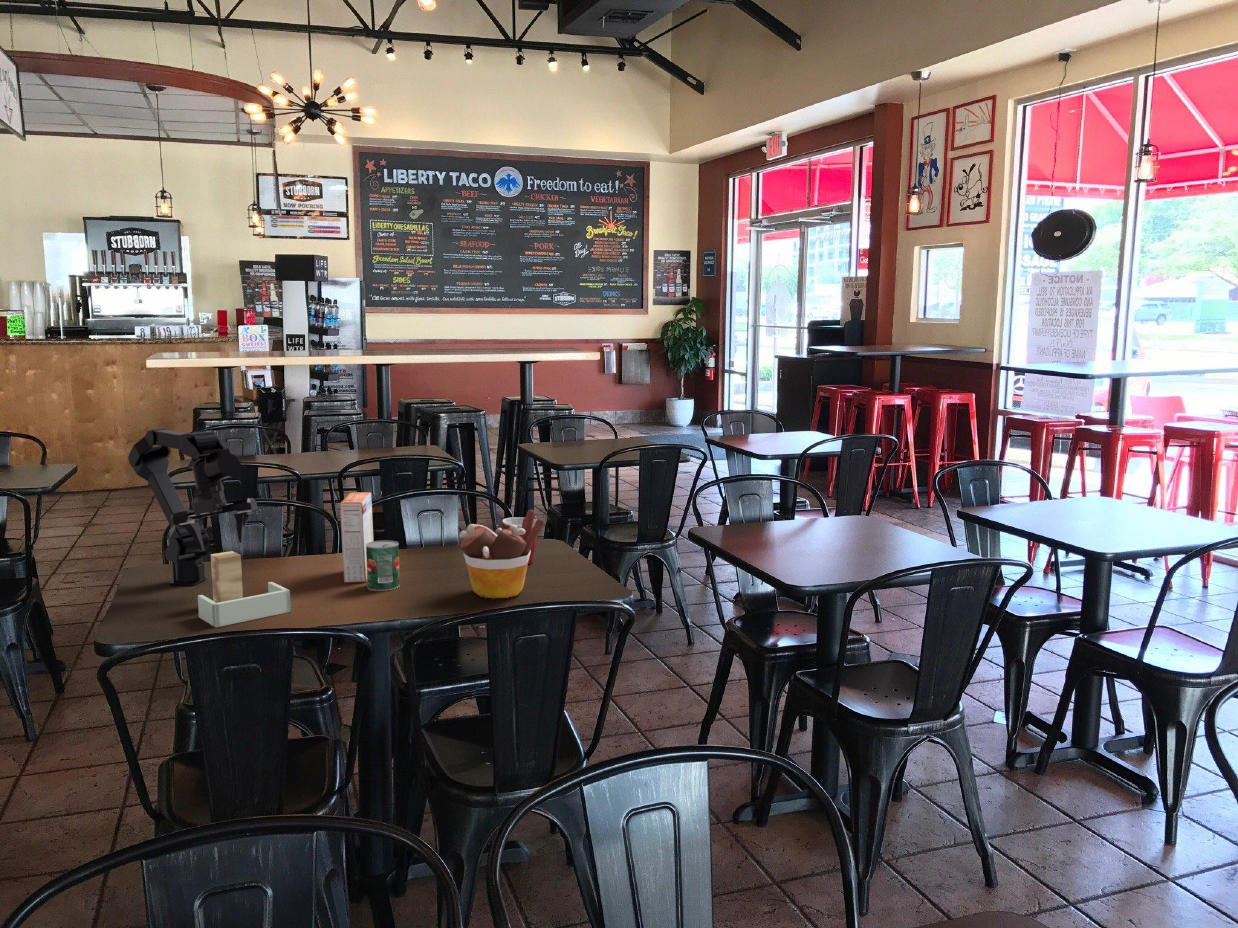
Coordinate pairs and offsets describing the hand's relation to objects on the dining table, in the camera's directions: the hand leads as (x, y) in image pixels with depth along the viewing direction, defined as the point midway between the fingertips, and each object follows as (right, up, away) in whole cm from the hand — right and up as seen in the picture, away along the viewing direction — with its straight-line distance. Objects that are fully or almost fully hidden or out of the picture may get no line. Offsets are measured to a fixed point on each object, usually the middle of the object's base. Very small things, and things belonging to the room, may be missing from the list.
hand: (221, 546), depth 234 cm
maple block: (+5, -13, -8) cm, 16 cm away
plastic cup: (+69, -7, +31) cm, 77 cm away
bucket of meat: (+67, -12, +3) cm, 68 cm away
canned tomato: (+37, -11, +8) cm, 40 cm away
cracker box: (+28, -9, +18) cm, 35 cm away
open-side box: (+12, -14, -15) cm, 24 cm away
